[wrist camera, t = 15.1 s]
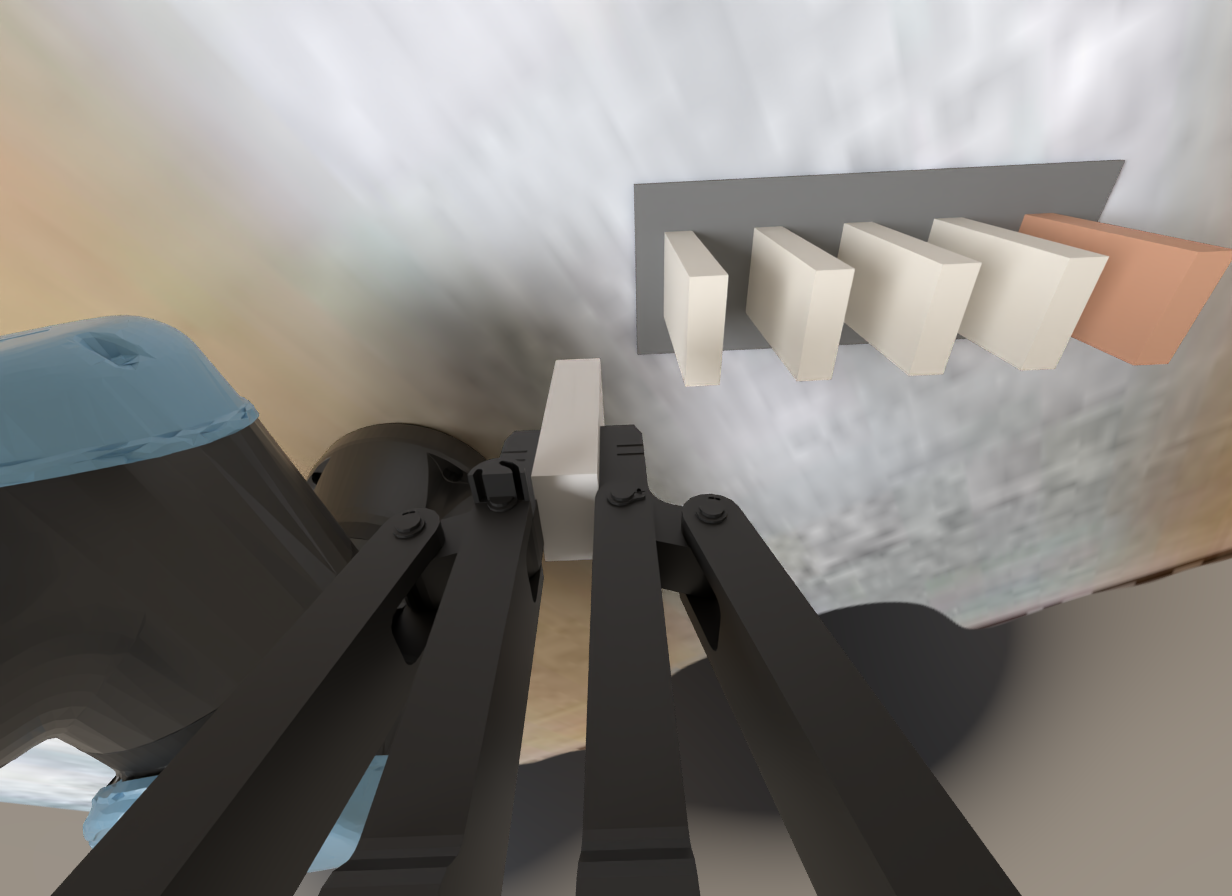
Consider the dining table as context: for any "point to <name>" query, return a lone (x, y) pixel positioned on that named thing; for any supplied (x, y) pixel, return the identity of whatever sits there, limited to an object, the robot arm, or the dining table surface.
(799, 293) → the domino
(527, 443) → the robot arm
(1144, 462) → the dining table surface
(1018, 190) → the mat
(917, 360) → the domino
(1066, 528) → the dining table surface
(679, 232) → the domino
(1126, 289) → the end domino
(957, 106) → the dining table surface
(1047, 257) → the domino
